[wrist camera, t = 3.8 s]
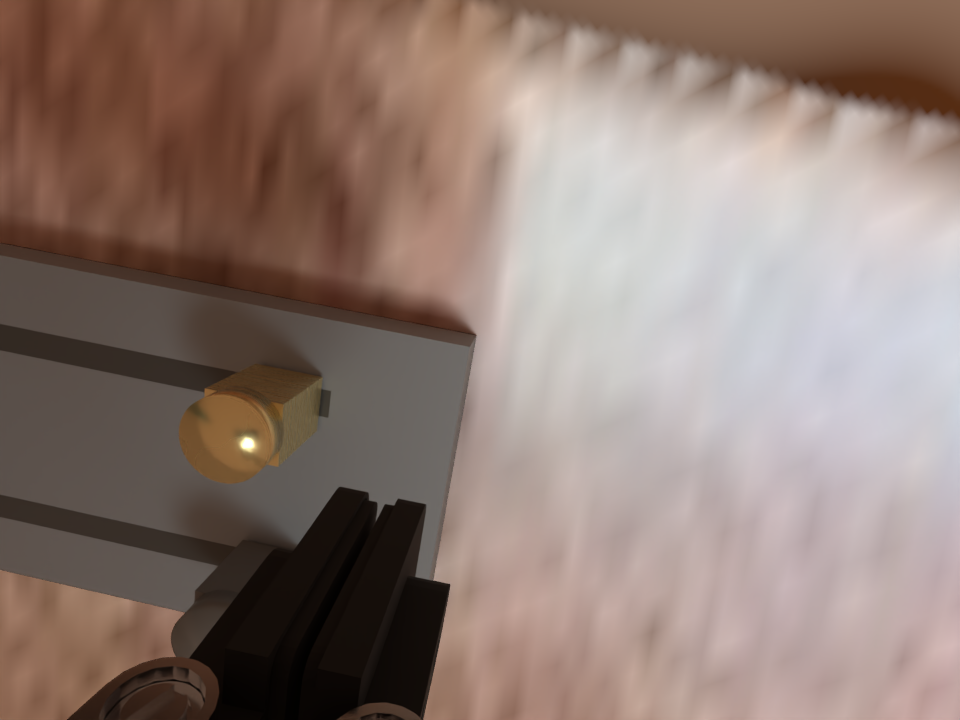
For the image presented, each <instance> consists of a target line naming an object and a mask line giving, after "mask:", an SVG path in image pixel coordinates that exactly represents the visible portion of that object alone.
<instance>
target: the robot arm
mask: <svg viewBox="0 0 960 720" xmlns="http://www.w3.org/2000/svg"><path fill="white" fill-rule="evenodd" d="M377 507H378V503H377V502H374V501H369V493H368V492H365V491H360V490H355V489H350V488H345V487H338V488H337V490H336V491H335V492H334V494H333V495H332V497H331V498H330V500H329V501H328V502H327V504H326V505H325V507H324V508H323V509H322V511H321V512H320V514H319V515H318V517H317V518H316V519H315V521H314V522H313V524H312V525H311V527H310V528H309V529H308V531H307V532H306V534H305V535H304V536H303V538H302V539H301V541H300V542H299V544H298V545H297V546H296V548H295V549H294V551H291V550H286V549H281V548H276V549H273V550H272V552H271V553H270V554H269V555H268V556H267V557H266V559H265V560H264V561H263V562H262V564H261V565H260V566H259V568H258V569H257V570H256V572H255V573H254V574H253V575H252V577H251V578H250V579H249V581H248V582H247V583H246V585H245V586H244V587H243V588H242V590H241V591H240V592H239V594H238V595H237V596H236V598H235V599H234V600H233V601H232V603H231V604H230V605H229V607H228V608H227V609H226V611H225V612H224V613H223V614H222V616H221V617H220V618H219V620H218V621H217V622H216V624H215V625H214V626H213V627H212V629H211V630H210V631H209V633H208V634H207V635H206V637H205V638H204V639H203V640H202V642H201V643H200V644H199V646H198V647H197V648H196V650H195V651H194V652H193V653H192V655H191V656H190V657H189V658H184V657H166V658H159V659H155V660H151V661H147V662H144V663H141V664H139V665H137V666H135V667H133V668H130V669H128V670H126V671H124V672H123V673H121V674H120V675H118V676H117V677H116V678H114V679H113V680H112V681H110V682H109V683H107V684H106V685H105V686H104V687H103V688H102V689H100V690H99V691H98V692H97V693H96V694H95V695H94V696H93V697H92V698H90V699H89V700H88V701H87V702H86V703H85V704H84V705H83V706H81V707H80V708H79V709H78V710H77V711H76V712H75V713H74V714H73V715H71V716H70V717H69V718H68V719H67V720H423V718H424V713H425V708H426V704H427V699H428V695H429V690H430V685H431V681H432V676H433V672H434V667H435V662H436V657H437V652H438V648H439V643H440V638H441V633H442V627H443V622H444V617H445V612H446V606H447V601H448V595H449V590H450V584H446V583H442V582H437V581H432V580H428V579H423V578H418V577H415V576H416V569H417V563H418V557H419V551H420V545H421V539H422V533H423V527H424V521H425V514H426V504H423V503H418V502H413V501H408V500H403V499H397V501H396V503H395V505H389V504H385V505H384V507H383V509H382V511H381V513H380V515H379V517H378V518H377V520H376V516H377Z"/></svg>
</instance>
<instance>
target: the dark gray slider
mask: <svg viewBox="0 0 960 720" xmlns="http://www.w3.org/2000/svg"><path fill="white" fill-rule="evenodd" d="M276 548H278V547H274V546H269V545H265V544H260V543H256V542H251V541H247V540H242V541H241V542H240V543H239V544H238V546H237V547H236V548H235V549H234V550H233V551H232V552H231V553H230V554H229V555H228V556H227V557H226V558H225V559H224V560H223V561H222V563H221V564H220V565H219V566H218V567H217V568H216V569H215V570H214V571H213V572H212V573H211V574H210V575H209V576H208V577H207V578H206V580H205V581H204V582H203V583H202V584H201V585H200V586H199V587H198V588H197V589H196V590H195V600H194V604H193V605H192V606H191V607H190V608H189V609H188V610H187V611H186V613H185V614H184V615H183V616H182V617H181V618H180V619H179V620H178V621H177V623H176V624H175V626H174V628H173V630H172V635H171V643H172V648H173V651H174V653H175V656H176V657H184V658H189V657H190V656H191V655H192V653H193V652H194V651H195V650H196V648H197V647H198V646H199V644H200V643H201V642H202V640H203V639H204V638H205V637H206V635H207V634H208V633H209V631H210V630H211V629H212V627H213V626H214V625H215V624H216V622H217V621H218V620H219V618H220V617H221V616H222V614H223V613H224V612H225V611H226V609H227V608H228V607H229V605H230V604H231V603H232V601H233V600H234V599H235V598H236V596H237V595H238V594H239V592H240V591H241V590H242V588H243V587H244V586H245V585H246V583H247V582H248V581H249V579H250V578H251V577H252V575H253V574H254V573H255V572H256V570H257V569H258V568H259V566H260V565H261V564H262V562H263V561H264V560H265V559H266V557H267V556H268V555H269V554H270V553H271V552H272V550H273V549H276ZM281 549H283V548H281ZM286 550H287V549H286ZM291 551H292V550H291Z"/></svg>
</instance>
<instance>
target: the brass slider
mask: <svg viewBox="0 0 960 720" xmlns="http://www.w3.org/2000/svg"><path fill="white" fill-rule="evenodd" d="M322 379H323V377H320V376H315V375H310V374H305V373H300V372H295V371H290V370H285V369H280V368H275V367H270V366H265V365H260V364H254V365H252V366H250V367H248V368H246V369H244V370H242V371H240V372H238V373H235V374H233V375H231V376H229V377H227V378H225V379H223V380H221V381H219V382H217V383H215V384H213V385H211V386H209V387H207V388H205V395H204V398H202V399H200V400H198V401H196V402H195V403H193V404H192V405H191V406H190V407H189V408H188V409H187V410H186V411H185V413H184V415H183V416H182V419H181V421H180V425H179V441H180V445H181V449H182V451H183V453H184V455H185V457H186V459H187V460H188V461H189V463H190V464H191V465H192V466H193V467H194V469H196V470H197V471H198V472H199V473H200V474H202V475H203V476H205V477H207V478H209V479H211V480H213V481H216V482H220V483H226V484H234V483H240V482H244V481H246V480H248V479H250V478H252V477H253V476H255V475H256V474H257V473H258V472H259V471H260V470H262V469H263V468H264V467H265V466H266V465H272V466H276V467H278V466H279V465H280V464H282V463H283V462H284V461H285V460H286V459H287V458H288V457H289V456H290V455H291V454H292V453H293V452H295V451H296V450H297V449H298V448H299V447H300V446H301V445H302V444H303V443H304V442H305V441H306V440H307V439H309V438H310V437H311V436H312V435H313V434H314V433H315V432H316V431H317V426H318V417H319V407H320V398H321V389H322Z"/></svg>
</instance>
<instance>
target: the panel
mask: <svg viewBox="0 0 960 720" xmlns="http://www.w3.org/2000/svg"><path fill="white" fill-rule="evenodd" d="M475 341H476V335H472V334H467V333H462V332H457V331H452V330H446V329H441V328H436V327H431V326H426V325H421V324H415V323H410V322H405V321H400V320H395V319H390V318H385V317H379V316H374V315H369V314H364V313H359V312H354V311H348V310H343V309H338V308H333V307H328V306H323V305H317V304H312V303H307V302H302V301H297V300H292V299H286V298H281V297H276V296H271V295H266V294H261V293H256V292H250V291H245V290H240V289H235V288H230V287H225V286H219V285H214V284H209V283H204V282H199V281H194V280H188V279H183V278H178V277H173V276H168V275H163V274H157V273H152V272H147V271H142V270H137V269H132V268H127V267H121V266H116V265H111V264H106V263H101V262H96V261H90V260H85V259H80V258H75V257H70V256H65V255H59V254H54V253H49V252H44V251H39V250H34V249H28V248H23V247H18V246H13V245H8V244H3V243H0V570H3V571H7V572H12V573H16V574H20V575H25V576H29V577H34V578H38V579H42V580H47V581H51V582H55V583H60V584H64V585H68V586H73V587H77V588H81V589H86V590H90V591H94V592H99V593H103V594H107V595H112V596H116V597H120V598H125V599H129V600H133V601H138V602H142V603H146V604H151V605H155V606H159V607H164V608H168V609H172V610H177V611H181V612H185V613H186V611H187V610H188V609H189V608H190V607H191V606H192V605H193V604H194V600H195V590H196V589H197V588H198V587H199V586H200V585H201V584H202V583H203V582H204V581H205V580H206V578H207V577H208V576H209V575H210V574H211V573H212V572H213V571H214V570H215V569H216V568H217V567H218V566H219V565H220V564H221V563H222V561H223V560H224V559H225V558H226V557H227V556H228V555H229V554H230V553H231V552H232V551H233V550H234V549H235V548H236V547H237V546H238V544H239V543H240V542H241V541H242V540H247V541H251V542H256V543H260V544H265V545H269V546H274V547H278V548H283V549H287V550H292V551H294V549H295V548H296V546H297V545H298V544H299V542H300V541H301V539H302V538H303V536H304V535H305V534H306V532H307V531H308V529H309V528H310V527H311V525H312V524H313V522H314V521H315V519H316V518H317V517H318V515H319V514H320V512H321V511H322V509H323V508H324V507H325V505H326V504H327V502H328V501H329V500H330V498H331V497H332V495H333V494H334V492H335V491H336V490H337V488H338V487H345V488H350V489H355V490H360V491H365V492H368V493H369V501H374V502H377V503H378V507H377V516H376V520H377V518H378V517H379V515H380V513H381V511H382V509H383V507H384V505H385V504H389V505H395V503H396V501H397V499H403V500H408V501H413V502H418V503H423V504H426V514H425V521H424V527H423V533H422V539H421V545H420V551H419V557H418V563H417V569H416V576H415V577H418V578H423V579H428V580H432V581H433V578H434V572H435V567H436V561H437V555H438V550H439V544H440V538H441V533H442V527H443V522H444V516H445V510H446V505H447V499H448V493H449V488H450V482H451V476H452V471H453V465H454V459H455V454H456V448H457V442H458V437H459V431H460V426H461V420H462V414H463V409H464V403H465V397H466V392H467V386H468V380H469V375H470V369H471V363H472V358H473V352H474V346H475ZM254 364H260V365H265V366H270V367H275V368H280V369H285V370H290V371H295V372H300V373H305V374H310V375H315V376H320V377H323V379H322V389H321V398H320V407H319V417H318V426H317V431H316V432H315V433H314V434H313V435H312V436H311V437H310V438H309V439H307V440H306V441H305V442H304V443H303V444H302V445H301V446H300V447H299V448H298V449H297V450H296V451H295V452H293V453H292V454H291V455H290V456H289V457H288V458H287V459H286V460H285V461H284V462H283V463H282V464H280V465H279V466H278V467H276V466H272V465H266V466H265V467H264V468H263V469H262V470H260V471H259V472H258V473H257V474H256V475H255V476H253V477H252V478H250V479H248V480H246V481H244V482H240V483H234V484H226V483H220V482H216V481H213V480H211V479H209V478H207V477H205V476H203V475H202V474H200V473H199V472H198V471H197V470H196V469H194V467H193V466H192V465H191V464H190V463H189V461H188V460H187V459H186V457H185V455H184V453H183V451H182V449H181V445H180V441H179V425H180V421H181V419H182V416H183V415H184V413H185V411H186V410H187V409H188V408H189V407H190V406H191V405H192V404H193V403H195V402H196V401H198V400H200V399H202V398H204V395H205V388H207V387H209V386H211V385H213V384H215V383H217V382H219V381H221V380H223V379H225V378H227V377H229V376H231V375H233V374H235V373H238V372H240V371H242V370H244V369H246V368H248V367H250V366H252V365H254Z"/></svg>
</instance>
